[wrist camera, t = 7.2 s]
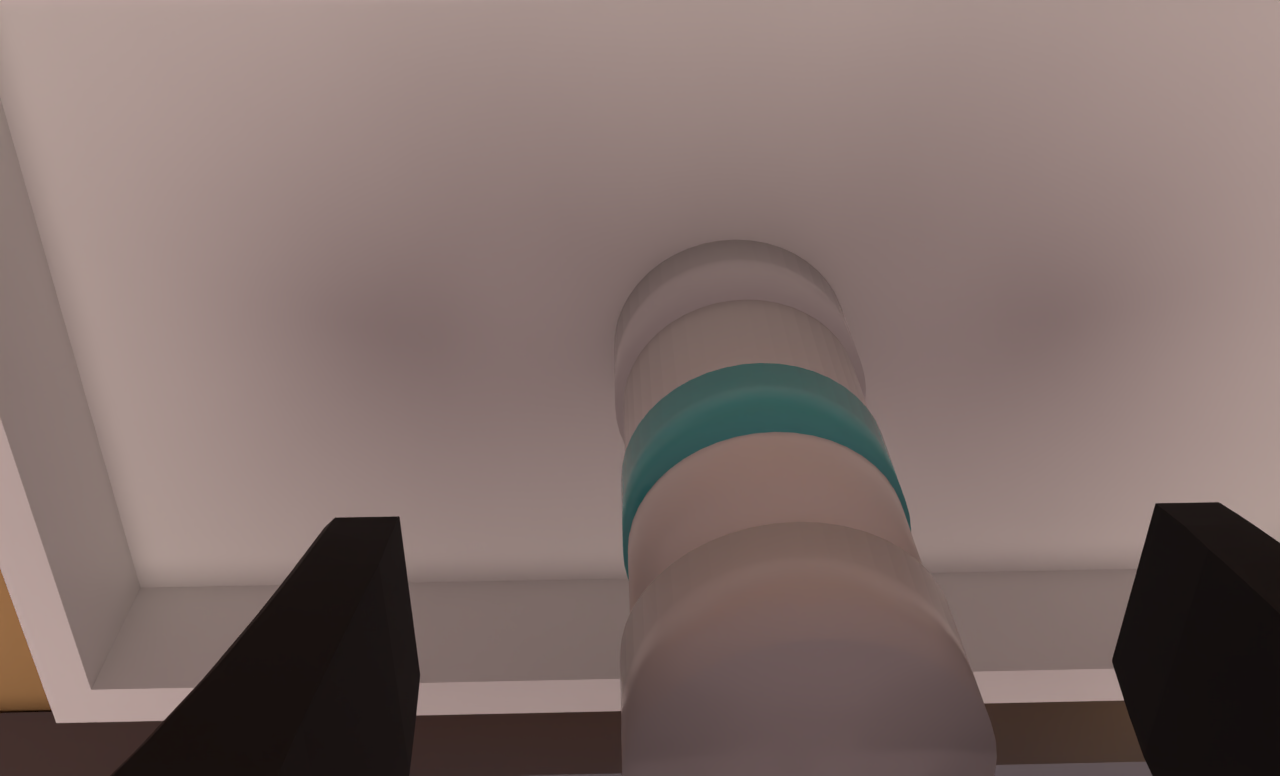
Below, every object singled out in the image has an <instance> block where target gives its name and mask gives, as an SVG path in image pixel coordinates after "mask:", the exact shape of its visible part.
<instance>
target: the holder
mask: <svg viewBox="0 0 1280 776" xmlns="http://www.w3.org/2000/svg"><path fill="white" fill-rule="evenodd" d="M984 705H985V707H986V710H987V713H988V716H989V718H990V721H991V724H992V728H993V732H994V735H995V739H996V751H997V760H996V767H995V774H994V776H1152V774H1151V772H1150V769H1149V767H1148V765H1147V763H1146V761H1145V759H1144V757H1143V754H1142V751H1141V748H1140V745H1139V743H1138V740H1137V737H1136V734H1135V731H1134V728H1133V726H1132V723H1131V720H1130V717H1129V714H1128V711H1127V708H1126V705H1125V702H1124V700H1121V701H1074V702H1027V703H984ZM162 722H163V721H132V722H85V723H56V721H55V718H54V715H53V713H52V712H19V713H0V776H110V775H111V774H112V773H113V772H114V771H115V770H116V769H117V768H118V767H119V766H120V765H121V764H122V763H123V762H124V761H125V760H126V759H127V758H128V757H129V756H131V754H132V753H133V752H134V751H135V750H136V749H137V748H138V747H139V746H140V745H141V744H142V743H143V742H144V741H145V740H146V739H147V738H148V737H149V736H150V735H151V734H152V733H153V732H154V730H155V729H156V728H157V727H158V726H159V725H160V724H161V723H162ZM409 776H622V741H621V711H603V712H556V713H509V714H461V715H416V722H415V732H414V740H413V749H412V757H411V766H410V774H409Z"/></svg>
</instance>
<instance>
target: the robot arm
mask: <svg viewBox="0 0 1280 776" xmlns="http://www.w3.org/2000/svg"><path fill="white" fill-rule="evenodd" d="M1112 663H1113V667H1114V670H1115V673H1116V676H1117V679H1118V683H1119V686H1120V689H1121V692H1122V695H1123V698H1124V702H1125V705H1126V708H1127V711H1128V714H1129V717H1130V720H1131V723H1132V726H1133V728H1134V731H1135V734H1136V737H1137V740H1138V743H1139V745H1140V748H1141V751H1142V754H1143V757H1144V759H1145V761H1146V763H1147V765H1148V767H1149V769H1150V772H1151V774H1152V776H1280V543H1279V542H1278V541H1276V540H1275V539H1274V538H1272V537H1271V536H1269V535H1268V534H1267V533H1265V532H1264V531H1262V530H1261V529H1259V528H1258V527H1256V526H1255V525H1253V524H1252V523H1250V522H1249V521H1248V520H1246V519H1245V518H1243V517H1242V516H1240V515H1238V514H1237V513H1235V512H1234V511H1232V510H1231V509H1229V508H1227V507H1226V506H1224V505H1223V504H1221V503H1219V502H1197V503H1155V507H1154V510H1153V514H1152V518H1151V521H1150V525H1149V528H1148V532H1147V536H1146V539H1145V543H1144V546H1143V550H1142V554H1141V557H1140V561H1139V564H1138V568H1137V572H1136V575H1135V579H1134V582H1133V586H1132V590H1131V593H1130V597H1129V600H1128V604H1127V608H1126V611H1125V615H1124V618H1123V622H1122V626H1121V629H1120V633H1119V636H1118V640H1117V644H1116V647H1115V651H1114V654H1113V658H1112ZM419 683H420V669H419V661H418V653H417V646H416V638H415V631H414V623H413V615H412V608H411V600H410V593H409V585H408V577H407V570H406V562H405V554H404V547H403V539H402V532H401V524H400V516H392V517H335V518H334V519H333V520H332V521H331V522H330V523H329V524H327V525H326V526H325V527H324V529H323V530H322V531H321V533H320V534H319V535H318V537H317V538H316V539H315V541H314V542H313V543H312V544H311V546H310V547H309V548H308V550H307V551H306V552H305V554H304V555H303V556H302V558H301V559H300V560H299V562H298V563H297V564H296V566H295V567H294V568H293V570H292V571H291V572H290V573H289V575H288V576H287V577H286V579H285V580H284V581H283V582H282V584H281V585H280V586H279V588H278V589H277V590H276V591H275V593H274V594H273V595H272V596H271V598H270V599H269V600H268V601H267V603H266V604H265V605H264V606H263V608H262V609H261V610H260V611H259V613H258V614H257V615H256V616H255V618H254V619H253V620H252V621H251V622H250V624H249V625H248V626H247V627H246V628H245V630H244V631H243V632H242V633H241V634H240V635H239V637H238V638H237V639H236V640H235V641H234V643H233V644H232V645H231V646H230V647H229V648H228V650H227V651H226V652H225V653H224V654H223V656H222V657H221V658H220V659H219V660H218V662H217V663H216V664H215V665H214V666H213V667H212V669H211V670H210V671H209V672H208V673H207V674H206V675H205V677H204V678H203V679H202V680H201V681H200V682H199V683H198V685H197V686H196V687H195V688H194V689H193V690H192V691H191V692H190V693H189V694H188V695H187V696H186V697H185V698H184V700H183V701H182V702H181V703H180V704H179V705H178V706H177V707H176V708H175V709H174V710H173V711H172V712H171V713H170V714H169V716H168V717H167V718H166V719H165V720H164V721H163V722H162V723H161V724H160V725H159V726H158V727H157V728H156V729H155V730H154V732H153V733H152V734H151V735H150V736H149V737H148V738H147V739H146V740H145V741H144V742H143V743H142V744H141V745H140V746H139V747H138V748H137V749H136V750H135V751H134V752H133V753H132V754H131V756H129V757H128V758H127V759H126V760H125V761H124V762H123V763H122V764H121V765H120V766H119V767H118V768H117V769H116V770H115V771H114V772H113V773H112V774H111V775H110V776H409V774H410V766H411V757H412V749H413V740H414V732H415V722H416V713H417V703H418V693H419Z"/></svg>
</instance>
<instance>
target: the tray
mask: <svg viewBox="0 0 1280 776" xmlns="http://www.w3.org/2000/svg"><path fill="white" fill-rule="evenodd" d="M722 240H751V241H757V242H763V243H768V244H771V245H774V246H777V247H781V248H783V249H785V250H787V251H790V252H792V253H794V254H796V255H797V256H799V257H800V258H802V259H804V260H805V261H807V262H808V263H809V264H810V265H812V266H813V267H814V268H815V269H816V270H818V271H819V273H820V274H821V275H822V276H823V277H824V278H825V279H826V280H827V282H828V283H829V285H830V286H831V288H832V289H833V291H834V292H835V294H836V296H837V299H838V301H839V303H840V305H841V308H842V311H843V313H844V316H845V319H846V322H847V324H848V327H849V330H850V333H851V336H852V338H853V341H854V344H855V347H856V349H857V352H858V355H859V358H860V361H861V364H862V368H863V371H864V375H865V384H866V400H865V401H866V404H867V407H868V410H869V411H870V413H871V414H872V416H873V417H874V419H875V420H876V422H877V424H878V427H879V429H880V431H881V433H882V436H883V438H884V441H885V444H886V447H887V450H888V453H889V455H890V458H891V461H892V464H893V467H894V470H895V472H896V475H897V478H898V481H899V484H900V486H901V489H902V492H903V495H904V498H905V501H906V504H907V508H908V511H909V515H910V523H911V533H912V536H913V539H914V542H915V545H916V548H917V551H918V554H919V556H920V559H921V562H922V565H923V566H924V567H925V568H926V569H927V570H928V571H929V572H930V573H931V575H932V576H933V578H934V579H935V580H936V582H937V583H938V585H939V586H940V587H941V589H942V592H943V594H944V596H945V598H946V600H947V602H948V605H949V607H950V610H951V613H952V616H953V619H954V621H955V624H956V627H957V630H958V632H959V635H960V638H961V641H962V643H963V646H964V649H965V652H966V655H967V657H968V660H969V663H970V666H971V668H972V671H973V674H974V677H975V680H976V682H977V685H978V688H979V691H980V693H981V696H982V699H983V702H984V703H1027V702H1074V701H1121V700H1124V698H1123V695H1122V692H1121V689H1120V686H1119V683H1118V679H1117V676H1116V673H1115V670H1114V667H1113V663H1112V658H1113V654H1114V651H1115V647H1116V644H1117V640H1118V636H1119V633H1120V629H1121V626H1122V622H1123V618H1124V615H1125V611H1126V608H1127V604H1128V600H1129V597H1130V593H1131V590H1132V586H1133V582H1134V579H1135V575H1136V572H1137V568H1138V564H1139V561H1140V557H1141V554H1142V550H1143V546H1144V543H1145V539H1146V536H1147V532H1148V528H1149V525H1150V521H1151V518H1152V514H1153V510H1154V507H1155V503H1197V502H1219V503H1221V504H1223V505H1224V506H1226V507H1227V508H1229V509H1231V510H1232V511H1234V512H1235V513H1237V514H1238V515H1240V516H1242V517H1243V518H1245V519H1246V520H1248V521H1249V522H1250V523H1252V524H1253V525H1255V526H1256V527H1258V528H1259V529H1261V530H1262V531H1264V532H1265V533H1267V534H1268V535H1269V536H1271V537H1272V538H1274V539H1275V540H1276V541H1278V542H1279V543H1280V0H0V569H1V571H2V574H3V577H4V580H5V583H6V585H7V588H8V591H9V594H10V596H11V599H12V602H13V605H14V607H15V610H16V613H17V616H18V619H19V621H20V624H21V627H22V630H23V632H24V635H25V638H26V641H27V643H28V646H29V649H30V652H31V654H32V657H33V660H34V663H35V666H36V668H37V671H38V674H39V677H40V679H41V682H42V685H43V688H44V690H45V693H46V696H47V699H48V702H49V704H50V707H51V710H52V713H53V715H54V718H55V721H56V723H85V722H132V721H164V720H165V719H166V718H167V717H168V716H169V714H170V713H171V712H172V711H173V710H174V709H175V708H176V707H177V706H178V705H179V704H180V703H181V702H182V701H183V700H184V698H185V697H186V696H187V695H188V694H189V693H190V692H191V691H192V690H193V689H194V688H195V687H196V686H197V685H198V683H199V682H200V681H201V680H202V679H203V678H204V677H205V675H206V674H207V673H208V672H209V671H210V670H211V669H212V667H213V666H214V665H215V664H216V663H217V662H218V660H219V659H220V658H221V657H222V656H223V654H224V653H225V652H226V651H227V650H228V648H229V647H230V646H231V645H232V644H233V643H234V641H235V640H236V639H237V638H238V637H239V635H240V634H241V633H242V632H243V631H244V630H245V628H246V627H247V626H248V625H249V624H250V622H251V621H252V620H253V619H254V618H255V616H256V615H257V614H258V613H259V611H260V610H261V609H262V608H263V606H264V605H265V604H266V603H267V601H268V600H269V599H270V598H271V596H272V595H273V594H274V593H275V591H276V590H277V589H278V588H279V586H280V585H281V584H282V582H283V581H284V580H285V579H286V577H287V576H288V575H289V573H290V572H291V571H292V570H293V568H294V567H295V566H296V564H297V563H298V562H299V560H300V559H301V558H302V556H303V555H304V554H305V552H306V551H307V550H308V548H309V547H310V546H311V544H312V543H313V542H314V541H315V539H316V538H317V537H318V535H319V534H320V533H321V531H322V530H323V529H324V527H325V526H326V525H327V524H329V523H330V522H331V521H332V520H333V519H334V518H335V517H392V516H400V524H401V532H402V539H403V547H404V554H405V562H406V570H407V577H408V585H409V593H410V600H411V608H412V615H413V623H414V631H415V638H416V646H417V653H418V661H419V669H420V683H419V693H418V703H417V713H416V715H461V714H509V713H556V712H603V711H621V689H620V649H621V639H622V636H623V632H624V628H625V624H626V622H627V620H628V617H629V615H630V606H629V580H628V577H627V573H626V570H625V566H624V557H623V537H622V497H621V474H622V464H623V459H624V455H625V444H624V442H623V439H622V437H621V435H620V432H619V428H618V424H617V420H616V410H615V376H614V338H615V331H616V326H617V321H618V318H619V316H620V313H621V310H622V308H623V306H624V304H625V302H626V300H627V298H628V297H629V295H630V294H631V292H632V291H633V290H634V288H635V287H636V285H637V284H638V283H639V282H640V281H641V280H642V279H643V278H644V277H645V276H646V275H647V274H648V273H649V272H650V271H651V270H652V269H654V268H655V267H656V266H657V265H659V264H660V263H662V262H663V261H665V260H666V259H668V258H670V257H671V256H673V255H675V254H677V253H679V252H682V251H684V250H686V249H688V248H691V247H694V246H698V245H701V244H704V243H710V242H715V241H722Z"/></svg>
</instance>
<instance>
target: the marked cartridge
mask: <svg viewBox="0 0 1280 776" xmlns="http://www.w3.org/2000/svg"><path fill="white" fill-rule="evenodd" d="M614 376H615V410H616V420H617V424H618V428H619V432H620V435H621V437H622V439H623V442H624V444H625V455H624V459H623V464H622V474H621V497H622V537H623V557H624V566H625V570H626V573H627V577H628V580H629V606H630V615H629V617H628V620H627V622H626V624H625V628H624V632H623V636H622V639H621V649H620V689H621V741H622V776H994V774H995V767H996V760H997V751H996V739H995V735H994V732H993V728H992V724H991V721H990V718H989V716H988V713H987V710H986V707H985V705H984V702H983V699H982V696H981V693H980V691H979V688H978V685H977V682H976V680H975V677H974V674H973V671H972V668H971V666H970V663H969V660H968V657H967V655H966V652H965V649H964V646H963V643H962V641H961V638H960V635H959V632H958V630H957V627H956V624H955V621H954V619H953V616H952V613H951V610H950V607H949V605H948V602H947V600H946V598H945V596H944V594H943V592H942V589H941V587H940V586H939V585H938V583H937V582H936V580H935V579H934V578H933V576H932V575H931V573H930V572H929V571H928V570H927V569H926V568H925V567H924V566H923V565H922V562H921V559H920V556H919V554H918V551H917V548H916V545H915V542H914V539H913V536H912V533H911V523H910V515H909V511H908V508H907V504H906V501H905V498H904V495H903V492H902V489H901V486H900V484H899V481H898V478H897V475H896V472H895V470H894V467H893V464H892V461H891V458H890V455H889V453H888V450H887V447H886V444H885V441H884V438H883V436H882V433H881V431H880V429H879V427H878V424H877V422H876V420H875V419H874V417H873V416H872V414H871V413H870V411H869V410H868V407H867V404H866V401H865V400H866V384H865V375H864V371H863V368H862V364H861V361H860V358H859V355H858V352H857V349H856V347H855V344H854V341H853V338H852V336H851V333H850V330H849V327H848V324H847V322H846V319H845V316H844V313H843V311H842V308H841V305H840V303H839V301H838V299H837V296H836V294H835V292H834V291H833V289H832V288H831V286H830V285H829V283H828V282H827V280H826V279H825V278H824V277H823V276H822V275H821V274H820V273H819V271H818V270H816V269H815V268H814V267H813V266H812V265H810V264H809V263H808V262H807V261H805V260H804V259H802V258H800V257H799V256H797V255H796V254H794V253H792V252H790V251H787V250H785V249H783V248H781V247H777V246H774V245H771V244H768V243H763V242H757V241H751V240H722V241H715V242H710V243H704V244H701V245H698V246H694V247H691V248H688V249H686V250H684V251H682V252H679V253H677V254H675V255H673V256H671V257H670V258H668V259H666V260H665V261H663V262H662V263H660V264H659V265H657V266H656V267H655V268H654V269H652V270H651V271H650V272H649V273H648V274H647V275H646V276H645V277H644V278H643V279H642V280H641V281H640V282H639V283H638V284H637V285H636V287H635V288H634V290H633V291H632V292H631V294H630V295H629V297H628V298H627V300H626V302H625V304H624V306H623V308H622V310H621V313H620V316H619V318H618V321H617V326H616V331H615V338H614Z"/></svg>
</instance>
